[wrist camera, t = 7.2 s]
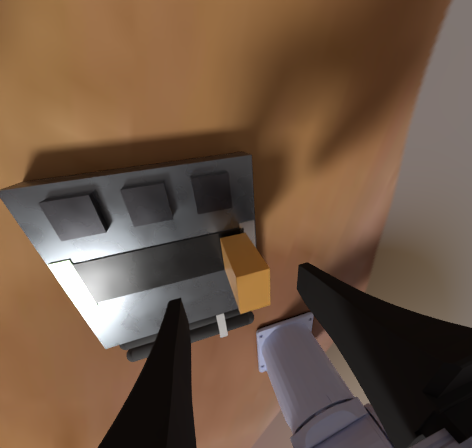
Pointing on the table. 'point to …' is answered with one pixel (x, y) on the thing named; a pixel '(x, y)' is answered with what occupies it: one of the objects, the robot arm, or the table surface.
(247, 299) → the breaker lever
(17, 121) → the table surface
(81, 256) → the panel
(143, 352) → the twin grey rollers
